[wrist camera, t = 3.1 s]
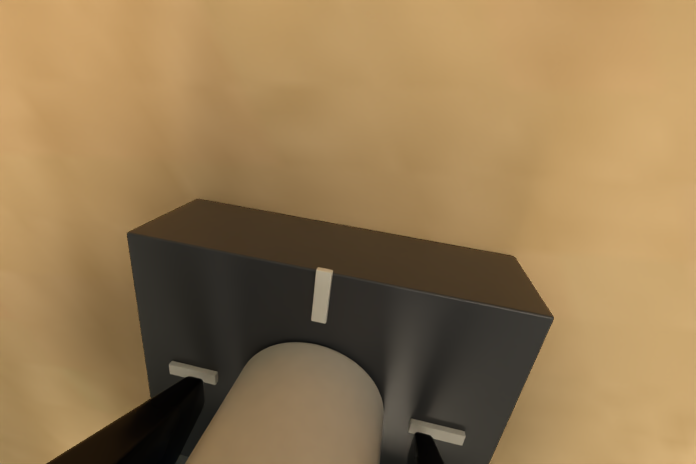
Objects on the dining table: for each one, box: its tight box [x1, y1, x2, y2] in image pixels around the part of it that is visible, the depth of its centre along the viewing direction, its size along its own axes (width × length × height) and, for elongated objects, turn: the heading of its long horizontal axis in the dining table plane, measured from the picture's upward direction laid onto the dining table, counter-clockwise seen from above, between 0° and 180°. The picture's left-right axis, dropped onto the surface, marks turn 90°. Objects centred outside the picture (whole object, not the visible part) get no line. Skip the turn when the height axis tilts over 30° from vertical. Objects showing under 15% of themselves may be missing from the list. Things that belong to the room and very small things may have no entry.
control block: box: [127, 199, 554, 464], centre depth 10 cm, size 10×8×3 cm
